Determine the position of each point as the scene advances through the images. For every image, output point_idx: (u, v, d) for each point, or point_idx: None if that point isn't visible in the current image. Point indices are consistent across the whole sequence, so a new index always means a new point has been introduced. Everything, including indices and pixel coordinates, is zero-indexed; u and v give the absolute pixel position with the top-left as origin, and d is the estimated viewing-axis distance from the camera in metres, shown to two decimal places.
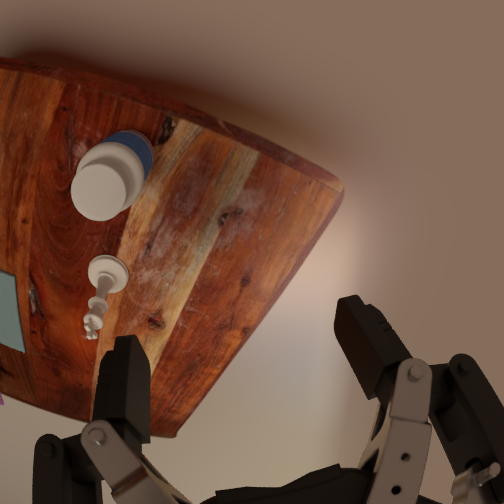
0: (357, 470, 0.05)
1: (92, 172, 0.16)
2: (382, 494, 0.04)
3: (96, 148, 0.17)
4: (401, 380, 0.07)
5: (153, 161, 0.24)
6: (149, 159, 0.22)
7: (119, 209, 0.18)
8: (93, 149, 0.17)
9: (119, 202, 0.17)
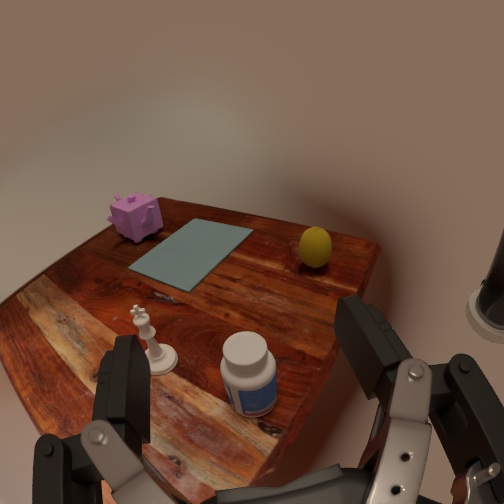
0: (357, 470, 0.05)
1: (261, 346, 0.25)
2: (382, 494, 0.04)
3: (273, 359, 0.27)
4: (401, 380, 0.07)
5: (245, 414, 0.28)
6: (251, 405, 0.27)
7: (228, 358, 0.24)
8: (273, 358, 0.27)
9: (233, 359, 0.24)
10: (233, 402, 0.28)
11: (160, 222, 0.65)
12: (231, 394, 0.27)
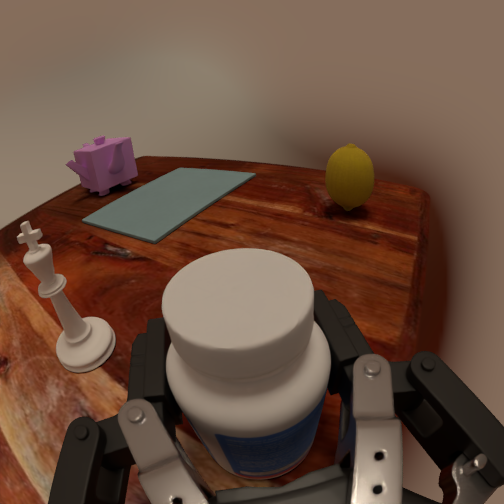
0: (333, 476, 0.05)
1: (293, 286, 0.07)
2: (364, 496, 0.04)
3: (325, 338, 0.09)
4: (359, 379, 0.08)
5: (241, 475, 0.10)
6: (255, 464, 0.09)
7: (174, 324, 0.07)
8: (323, 333, 0.09)
9: (193, 328, 0.06)
10: (209, 451, 0.10)
11: (133, 170, 0.47)
12: (200, 436, 0.09)
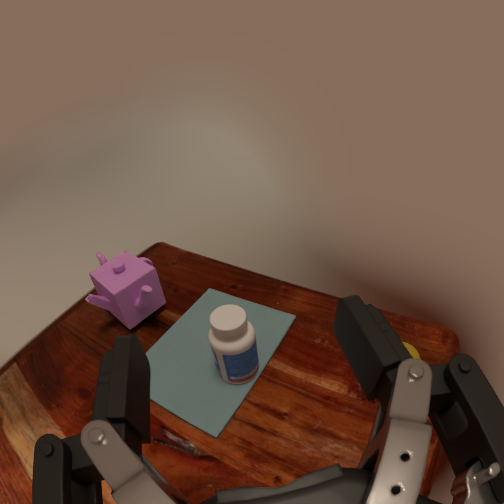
0: (357, 470, 0.05)
1: (241, 316, 0.31)
2: (382, 494, 0.04)
3: (253, 329, 0.33)
4: (401, 380, 0.07)
5: (230, 380, 0.33)
6: (234, 370, 0.32)
7: (213, 325, 0.30)
8: (253, 328, 0.33)
9: (218, 326, 0.30)
10: (219, 368, 0.33)
11: (161, 299, 0.46)
12: (217, 360, 0.32)
